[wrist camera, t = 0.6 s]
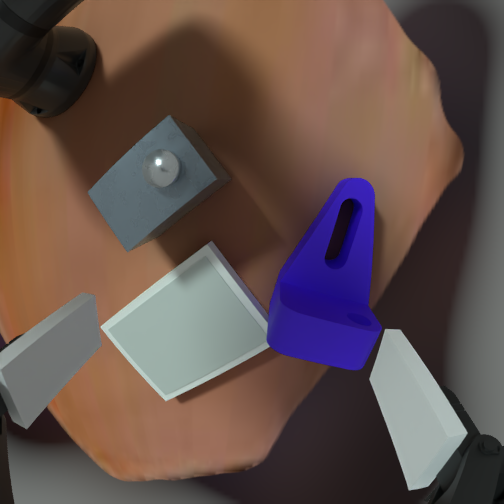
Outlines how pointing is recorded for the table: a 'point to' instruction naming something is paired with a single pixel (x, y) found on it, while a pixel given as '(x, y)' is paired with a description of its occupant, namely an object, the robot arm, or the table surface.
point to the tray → (190, 325)
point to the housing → (157, 183)
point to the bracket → (329, 288)
